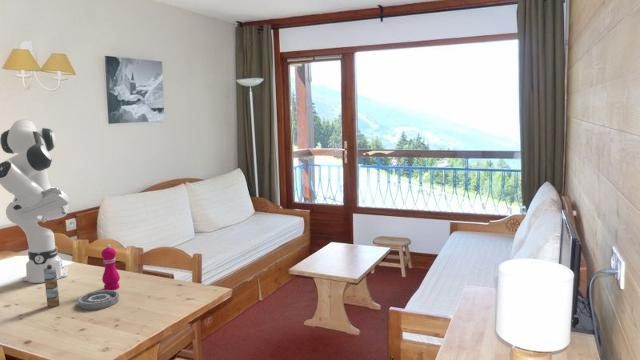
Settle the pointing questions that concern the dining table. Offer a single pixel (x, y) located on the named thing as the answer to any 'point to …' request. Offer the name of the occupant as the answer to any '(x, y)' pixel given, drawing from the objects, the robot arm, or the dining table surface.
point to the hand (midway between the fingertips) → (55, 216)
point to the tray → (98, 300)
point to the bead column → (51, 286)
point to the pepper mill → (110, 269)
